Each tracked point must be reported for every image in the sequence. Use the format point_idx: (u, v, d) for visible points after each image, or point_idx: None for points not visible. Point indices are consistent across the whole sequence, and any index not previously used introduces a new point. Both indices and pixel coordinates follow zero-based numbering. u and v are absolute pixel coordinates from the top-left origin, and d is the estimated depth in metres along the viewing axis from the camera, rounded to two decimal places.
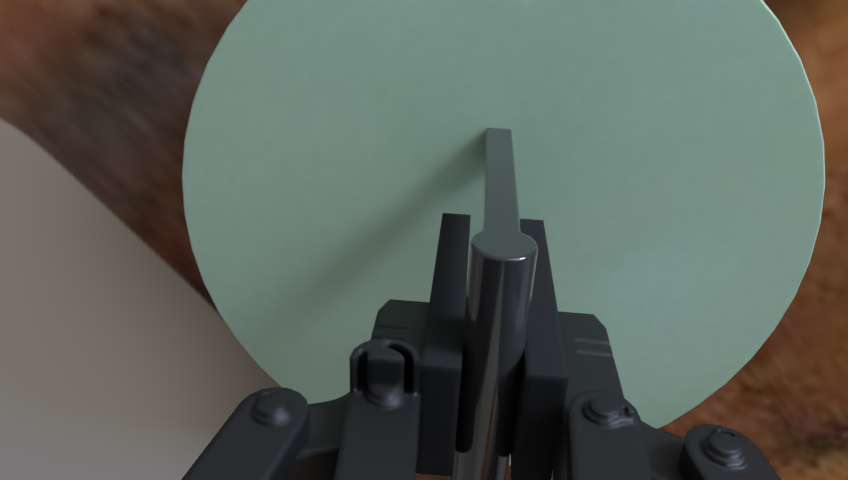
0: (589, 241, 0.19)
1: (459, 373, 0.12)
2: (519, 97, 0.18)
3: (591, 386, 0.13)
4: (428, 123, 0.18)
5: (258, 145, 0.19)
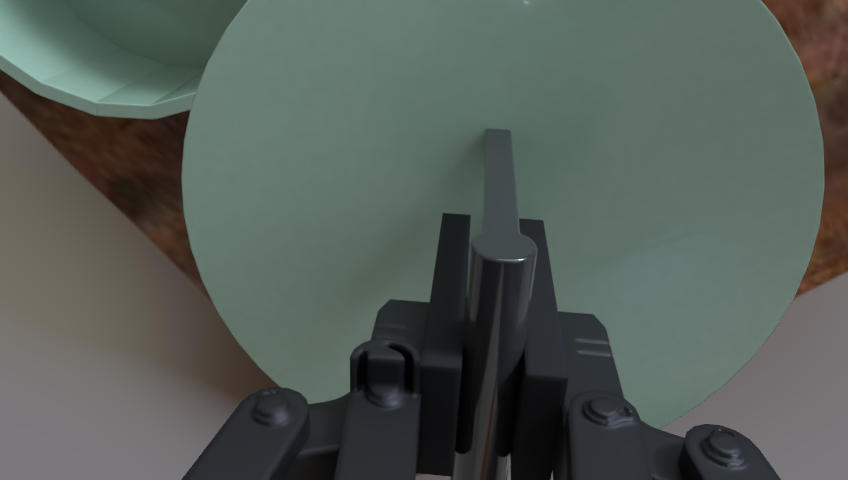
0: (589, 242, 0.19)
1: (459, 373, 0.12)
2: (519, 98, 0.18)
3: (591, 386, 0.13)
4: (428, 124, 0.18)
5: (258, 146, 0.19)
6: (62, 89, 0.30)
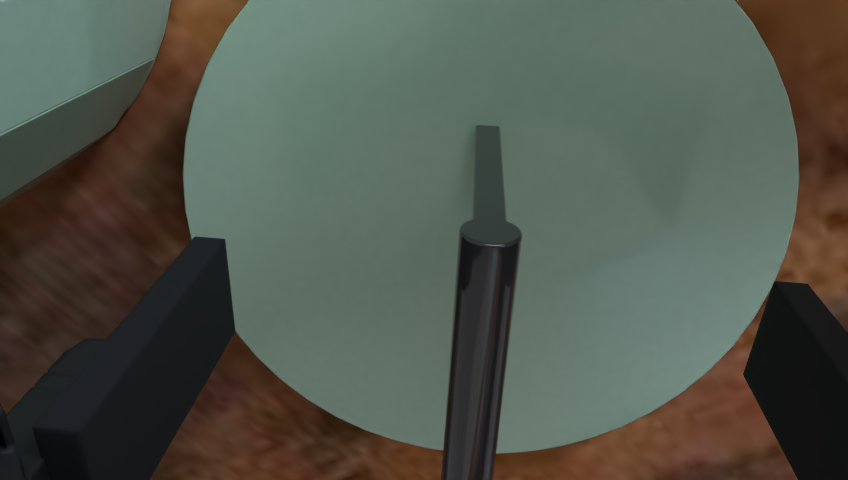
0: (575, 234, 0.20)
1: (78, 436, 0.10)
2: (507, 96, 0.18)
3: None
4: (420, 121, 0.19)
5: (256, 142, 0.20)
6: None
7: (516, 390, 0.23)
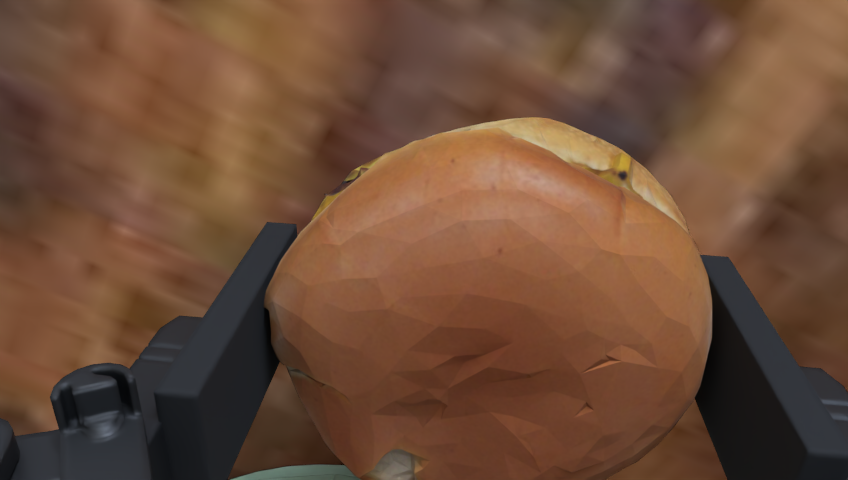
0: None
1: (195, 400, 0.11)
2: None
3: None
4: None
5: None
6: None
7: None
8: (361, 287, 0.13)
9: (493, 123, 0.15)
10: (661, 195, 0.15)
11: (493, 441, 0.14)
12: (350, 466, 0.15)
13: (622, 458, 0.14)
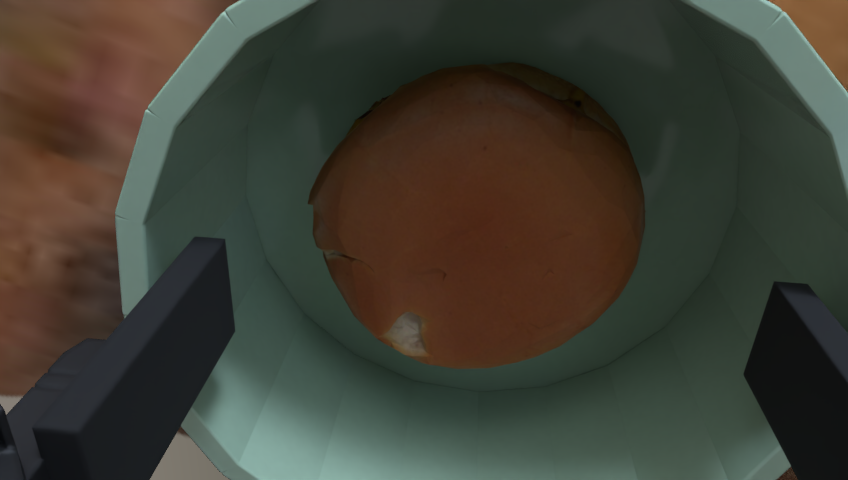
0: None
1: (78, 436, 0.10)
2: None
3: None
4: None
5: None
6: None
7: None
8: (384, 179, 0.18)
9: None
10: (608, 120, 0.19)
11: (481, 302, 0.19)
12: (372, 328, 0.20)
13: (578, 317, 0.19)
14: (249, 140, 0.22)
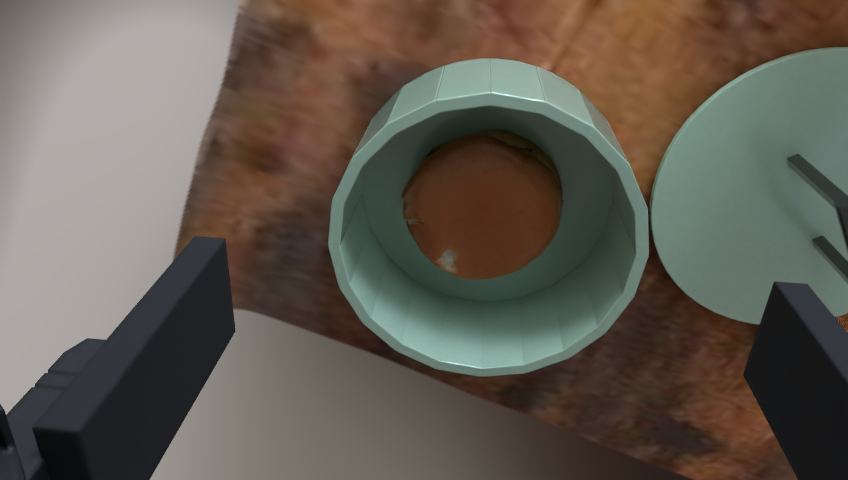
0: None
1: (77, 436, 0.10)
2: (796, 139, 0.39)
3: None
4: (759, 168, 0.40)
5: (685, 212, 0.42)
6: (497, 366, 0.40)
7: None
8: (440, 186, 0.39)
9: (484, 131, 0.41)
10: (545, 157, 0.41)
11: (484, 244, 0.40)
12: (431, 257, 0.41)
13: (530, 251, 0.40)
14: (366, 165, 0.43)
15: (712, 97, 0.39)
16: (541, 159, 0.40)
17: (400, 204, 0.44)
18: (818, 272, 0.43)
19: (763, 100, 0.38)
